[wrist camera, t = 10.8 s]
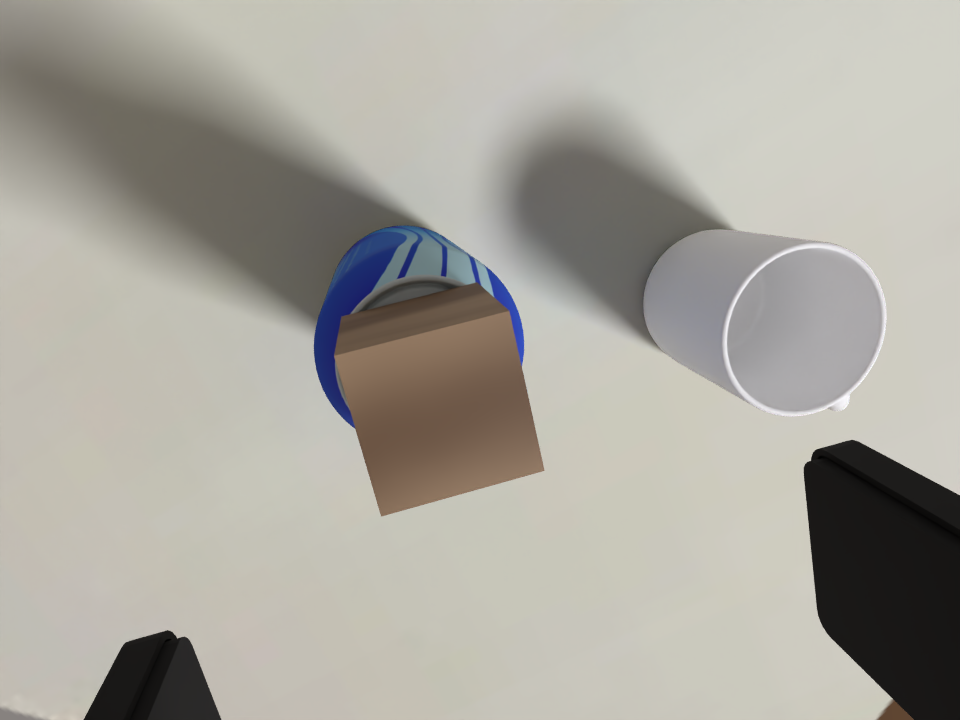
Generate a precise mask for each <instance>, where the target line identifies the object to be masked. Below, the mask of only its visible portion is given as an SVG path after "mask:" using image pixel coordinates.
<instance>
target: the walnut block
mask: <svg viewBox="0 0 960 720" xmlns="http://www.w3.org/2000/svg"><path fill="white" fill-rule="evenodd" d="M334 358H335V361H336V364H337V368H338V371H339V375H340V378H341V381H342V385H343V388H344V392H345V395H346V398H347V402H348V405H349V408H350V412H351V415H352V419H353V422H354V425H355V429H356V432H357V436H358V439H359V442H360V446H361V449H362V453H363V456H364V459H365V463H366V466H367V470H368V473H369V476H370V480H371V483H372V487H373V490H374V493H375V497H376V500H377V504H378V507H379V510H380V514H381V516H385V515H388V514H392V513H395V512H399V511H402V510H406V509H409V508H413V507H417V506H420V505H424V504H427V503H431V502H434V501H438V500H442V499H445V498H449V497H452V496H456V495H459V494H463V493H467V492H470V491H474V490H477V489H481V488H484V487H488V486H492V485H495V484H499V483H502V482H506V481H509V480H513V479H516V478H520V477H524V476H527V475H531V474H534V473H538V472H541V471H544V467H543V462H542V457H541V453H540V448H539V444H538V439H537V435H536V430H535V425H534V421H533V416H532V412H531V407H530V403H529V398H528V394H527V389H526V384H525V380H524V375H523V371H522V366H521V362H520V357H519V352H518V348H517V343H516V339H515V334H514V330H513V325H512V320H511V316H510V311H509V310H508V309H507V308H506V307H504V306H503V305H502V304H501V303H500V302H499V301H498V300H497V299H495V298H494V297H493V296H492V295H491V294H490V293H489V292H488V291H486V290H485V289H484V288H483V287H482V286H481V285H480V284H479V283H477V282H476V283H472V284H468V285H464V286H460V287H456V288H452V289H448V290H444V291H440V292H436V293H432V294H429V295H425V296H421V297H417V298H413V299H409V300H405V301H401V302H397V303H393V304H389V305H385V306H381V307H377V308H373V309H369V310H365V311H361V312H357V313H353V314H349V315H345V316H341V321H340V327H339V332H338V337H337V343H336V348H335V353H334Z"/></svg>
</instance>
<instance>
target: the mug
mask: <svg viewBox="0 0 960 720" xmlns="http://www.w3.org/2000/svg"><path fill="white" fill-rule="evenodd" d="M643 310H644V318H645V322H646V325H647V328H648V330H649V333H650V334H651V336H652V338H653V340H654V341H655V342H656V344H657V345H658V346H659V348H660V349H661V350H662V351H663V352H664V353H665V354H667V355H668V356H669V357H671V358H672V359H674V360H675V361H676V362H678V363H680V364H681V365H683V366H685V367H687V368H688V369H690V370H692V371H694V372H695V373H697V374H699V375H701V376H702V377H704V378H706V379H708V380H709V381H711V382H713V383H714V384H716V385H718V386H720V387H721V388H723V389H725V390H727V391H728V392H730V393H732V394H734V395H735V396H737V397H739V398H740V399H742V400H744V401H746V402H747V403H749V404H751V405H753V406H754V407H756V408H758V409H760V410H762V411H765V412H768V413H770V414H774V415H780V416H803V415H808V414H812V413H816V412H819V411H821V410H824V409H826V408H828V409H830V410H833V411H841V410H844V409H845V408H846V407H847V405H848V403H849V398H850V393H851V392H852V391H853V390H854V389H855V388H856V387H857V386H858V385H859V384H860V383H861V382H862V381H863V379H864V378H865V377H866V375H867V374H868V373H869V371H870V369H871V368H872V366H873V365H874V363H875V361H876V359H877V356H878V354H879V352H880V349H881V346H882V343H883V339H884V335H885V329H886V304H885V298H884V294H883V291H882V288H881V285H880V283H879V281H878V279H877V277H876V275H875V274H874V272H873V271H872V269H871V268H870V267H869V266H868V265H867V263H866V262H865V261H864V260H863V259H861V258H860V257H859V256H858V255H857V254H855V253H853V252H852V251H850V250H849V249H847V248H844V247H842V246H839V245H836V244H832V243H828V242H820V241H812V240H805V239H797V238H789V237H781V236H773V235H766V234H758V233H750V232H742V231H734V230H723V229H716V230H706V231H701V232H697V233H694V234H691V235H689V236H687V237H685V238H683V239H681V240H679V241H678V242H676V243H675V244H673V245H672V246H671V247H670V248H669V249H667V250H666V251H665V253H664V254H663V255H662V256H661V257H660V258H659V260H658V261H657V262H656V264H655V265H654V267H653V269H652V271H651V273H650V275H649V278H648V280H647V283H646V287H645V291H644V298H643Z"/></svg>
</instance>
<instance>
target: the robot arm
mask: <svg viewBox="0 0 960 720" xmlns="http://www.w3.org/2000/svg"><path fill="white" fill-rule="evenodd" d="M804 481H805V491H806V501H807V511H808V521H809V531H810V542H811V552H812V562H813V572H814V582H815V593H816V603H817V611H818V616H819V619H820V622H821V624H822V626H823V628H824V629H825V631H826V632H827V634H828V635H829V636H830V637H831V638H832V639H833V640H834V641H835V642H836V643H837V644H838V645H839V646H840V647H841V648H842V649H843V650H844V651H845V652H846V653H847V654H848V655H849V656H850V657H851V658H852V659H853V660H854V661H855V662H856V663H857V664H858V665H859V666H860V667H861V668H862V669H863V670H864V671H865V672H866V673H867V674H868V675H869V676H870V677H871V678H872V679H873V680H874V681H875V682H876V683H877V684H878V685H879V686H880V687H881V688H882V689H883V690H885V691H886V692H887V693H888V694H889V695H890V696H891V697H892V698H893V699H894V700H895V701H896V702H897V703H898V704H899V705H900V706H901V707H902V708H903V709H904V710H905V711H906V712H907V713H908V714H909V715H910V716H911V717H912V718H913V719H914V720H960V495H958V494H956V493H954V492H952V491H950V490H949V489H947V488H945V487H943V486H941V485H939V484H937V483H935V482H933V481H932V480H930V479H928V478H926V477H924V476H922V475H920V474H918V473H916V472H915V471H913V470H911V469H909V468H907V467H905V466H903V465H901V464H899V463H898V462H896V461H894V460H892V459H890V458H888V457H886V456H884V455H883V454H881V453H879V452H877V451H875V450H873V449H871V448H869V447H867V446H866V445H864V444H862V443H860V442H858V441H855V440H850V441H845V442H842V443H838V444H835V445H831V446H827V447H824V448H820V449H817V450H815V451H814V452H813V454H812V458H811V461H809V462H807V463H806V464H805V466H804ZM84 720H221V718H220V715H219V713H218V710H217V708H216V705H215V703H214V700H213V697H212V695H211V692H210V690H209V687H208V685H207V682H206V680H205V677H204V674H203V672H202V669H201V667H200V664H199V662H198V659H197V656H196V654H195V651H194V649H193V646H192V644H191V642H190V640H189V639H188V638H186V637H181V638H178V639H177V637H176V636H175V635H174V634H173V632H171V631H168V630H167V631H164V632H160V633H157V634H153V635H150V636H146V637H142V638H139V639H135V640H132V641H129V642H126V643H125V644H124V645H123V647H122V648H121V650H120V652H119V654H118V656H117V657H116V659H115V661H114V663H113V665H112V667H111V669H110V671H109V673H108V675H107V676H106V678H105V680H104V682H103V684H102V686H101V688H100V690H99V692H98V693H97V695H96V697H95V699H94V701H93V703H92V705H91V707H90V709H89V711H88V712H87V714H86V716H85V718H84Z"/></svg>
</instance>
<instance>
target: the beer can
mask: <svg viewBox="0 0 960 720" xmlns="http://www.w3.org/2000/svg"><path fill="white" fill-rule="evenodd" d="M476 282H477V283H479V284H480V285H481V286H482V287H483V288H484V289H485V290H486V291H488V292H489V293H490V294H491V295H492V296H493V297H494V298H495V299H497V300H498V301H499V302H500V303H501V304H502V305H503V306H504V307H506V308H507V309H508V310H509V311H510V316H511V320H512V325H513V330H514V334H515V339H516V343H517V348H518V352H519V357H520V362H521V366H522V362H523V355H524V336H523V329H522V323H521V319H520V316H519V313H518V310H517V308H516V305H515V303H514V301H513V299H512V297H511V295H510V293H509V292H508V290H507V289H506V287H505V286H504V284H503V283H502V282H501V281H500V280H499V278H498V277H497V276H496V275H495V274H494V273H493V272H492V271H491V270H490V269H488V268H487V267H486V266H485V265H483V264H482V263H481V262H479V261H478V260H476V259H475V258H474V257H472V256H471V255H469V254H468V253H466V252H465V251H464V250H462V249H461V248H459V247H458V246H456V245H455V244H454V243H452V242H451V241H449V240H448V239H446V238H445V237H443V236H442V235H440V234H438V233H436V232H433V231H431V230H428V229H425V228H421V227H416V226H392V227H388V228H384V229H380V230H377V231H375V232H373V233H371V234H369V235H367V236H365V237H364V238H362V239H361V240H359V241H358V242H357V243H356V244H354V245H353V246H352V247H351V248H350V249H349V250H348V251H347V253H346V254H345V255H344V257H343V258H342V259H341V261H340V263H339V264H338V266H337V269H336V271H335V273H334V276H333V279H332V282H331V284H330V287H329V290H328V293H327V295H326V298H325V301H324V304H323V306H322V309H321V312H320V315H319V317H318V321H317V325H316V330H315V337H314V357H315V364H316V370H317V373H318V377H319V380H320V383H321V385H322V388H323V390H324V392H325V394H326V396H327V398H328V399H329V401H330V403H331V404H332V406H333V407H334V408H335V410H336V411H337V412H338V413H339V414H340V415H341V417H342V418H343V419H344V420H345V421H346V422H348V423H349V424H350V425H351V426H352V427H354V428H355V425H354V422H353V419H352V415H351V412H350V408H349V405H348V402H347V398H346V395H345V392H344V388H343V385H342V381H341V378H340V375H339V371H338V368H337V364H336V361H335V358H334V353H335V348H336V343H337V337H338V332H339V327H340V321H341V316H345V315H349V314H353V313H357V312H361V311H365V310H369V309H373V308H377V307H381V306H385V305H389V304H393V303H397V302H401V301H405V300H409V299H413V298H417V297H421V296H425V295H429V294H432V293H436V292H440V291H444V290H448V289H452V288H456V287H460V286H464V285H468V284H472V283H476Z"/></svg>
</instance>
